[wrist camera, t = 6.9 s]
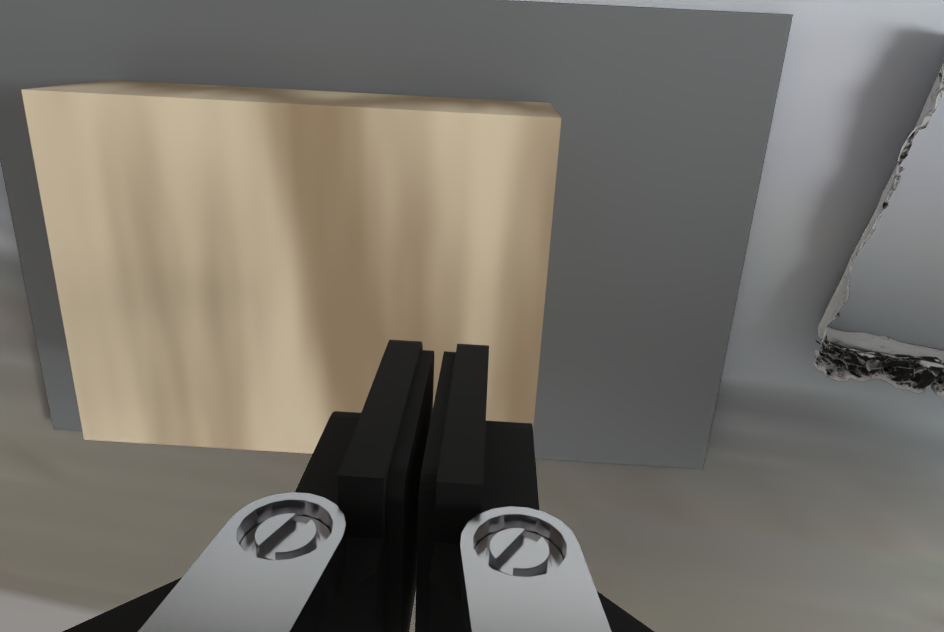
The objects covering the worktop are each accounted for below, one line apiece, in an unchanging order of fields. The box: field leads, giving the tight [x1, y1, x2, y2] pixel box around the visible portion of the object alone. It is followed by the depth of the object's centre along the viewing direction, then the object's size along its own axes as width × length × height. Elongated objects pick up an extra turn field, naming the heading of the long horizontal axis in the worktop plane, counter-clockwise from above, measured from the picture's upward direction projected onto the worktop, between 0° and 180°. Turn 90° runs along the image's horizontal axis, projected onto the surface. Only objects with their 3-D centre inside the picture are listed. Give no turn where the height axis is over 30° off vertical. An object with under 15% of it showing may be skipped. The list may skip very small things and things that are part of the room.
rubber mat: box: [0, 0, 793, 469], centre depth 21 cm, size 22×14×1 cm, turn 87°
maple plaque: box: [21, 80, 561, 454], centre depth 19 cm, size 4×9×12 cm
